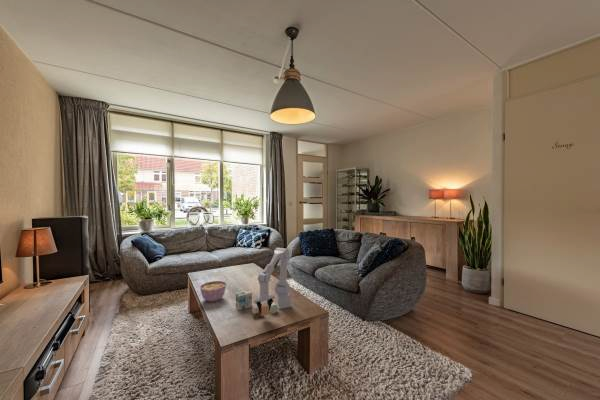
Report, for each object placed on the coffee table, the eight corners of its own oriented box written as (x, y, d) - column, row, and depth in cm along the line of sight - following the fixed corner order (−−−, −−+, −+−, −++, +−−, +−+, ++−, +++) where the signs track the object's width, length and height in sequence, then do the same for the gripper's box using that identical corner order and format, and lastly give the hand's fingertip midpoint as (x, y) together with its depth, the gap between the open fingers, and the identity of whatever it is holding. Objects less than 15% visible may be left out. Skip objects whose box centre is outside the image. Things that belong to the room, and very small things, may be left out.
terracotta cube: (267, 311, 164) (267, 303, 164) (269, 314, 159) (269, 306, 159) (260, 312, 162) (259, 304, 162) (261, 315, 157) (261, 307, 157)
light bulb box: (238, 310, 174) (238, 295, 174) (235, 307, 179) (235, 292, 179) (252, 306, 180) (252, 292, 180) (248, 303, 186) (248, 289, 185)
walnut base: (261, 312, 172) (261, 307, 172) (263, 316, 165) (263, 311, 165) (251, 314, 169) (251, 309, 169) (253, 318, 163) (253, 313, 163)
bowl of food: (200, 296, 198) (200, 282, 198) (225, 293, 206) (225, 279, 205) (199, 307, 180) (199, 291, 180) (227, 302, 187) (227, 288, 187)
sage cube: (273, 309, 176) (273, 301, 176) (277, 311, 172) (277, 304, 172) (267, 311, 173) (267, 303, 173) (271, 313, 169) (271, 306, 169)
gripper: (271, 287, 167) (271, 306, 168) (251, 291, 160) (252, 311, 160) (276, 290, 161) (276, 310, 162) (255, 295, 154) (255, 316, 154)
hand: (264, 311), depth 161 cm, fingers closed on terracotta cube, 6 cm apart
